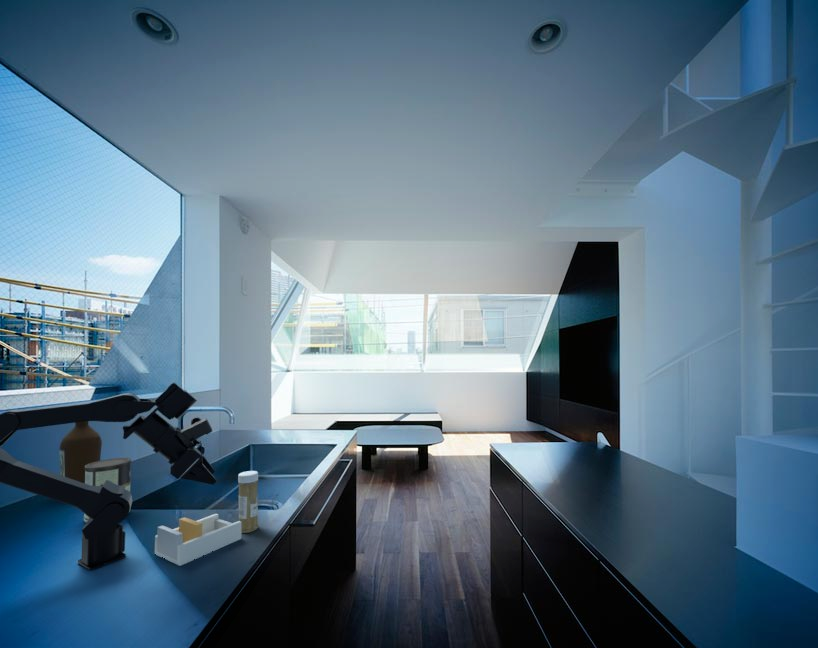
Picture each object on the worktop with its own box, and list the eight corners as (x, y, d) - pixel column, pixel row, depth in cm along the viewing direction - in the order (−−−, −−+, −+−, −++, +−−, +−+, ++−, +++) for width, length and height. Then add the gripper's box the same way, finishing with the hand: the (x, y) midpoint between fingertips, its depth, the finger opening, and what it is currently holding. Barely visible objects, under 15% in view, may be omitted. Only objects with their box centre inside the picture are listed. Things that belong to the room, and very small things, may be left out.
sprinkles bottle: (260, 530, 99) (260, 473, 100) (240, 535, 96) (240, 476, 97) (255, 524, 102) (255, 469, 103) (236, 528, 100) (236, 472, 101)
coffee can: (119, 506, 118) (121, 456, 119) (137, 512, 113) (138, 460, 114) (76, 518, 110) (77, 464, 111) (92, 526, 104) (94, 469, 105)
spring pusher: (196, 549, 87) (196, 525, 87) (178, 542, 91) (179, 519, 91) (202, 547, 88) (202, 523, 88) (184, 540, 92) (184, 517, 92)
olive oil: (101, 485, 138) (103, 410, 140) (99, 493, 130) (102, 413, 132) (59, 492, 132) (62, 413, 134) (55, 501, 124) (58, 417, 125)
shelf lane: (179, 565, 83) (180, 536, 83) (154, 554, 88) (155, 526, 88) (241, 538, 94) (241, 512, 95) (215, 529, 100) (215, 505, 100)
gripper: (189, 412, 87) (244, 458, 92) (190, 404, 104) (237, 443, 108) (144, 454, 83) (204, 500, 87) (153, 439, 100) (203, 478, 104)
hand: (214, 477), depth 97 cm, fingers open, 9 cm apart
